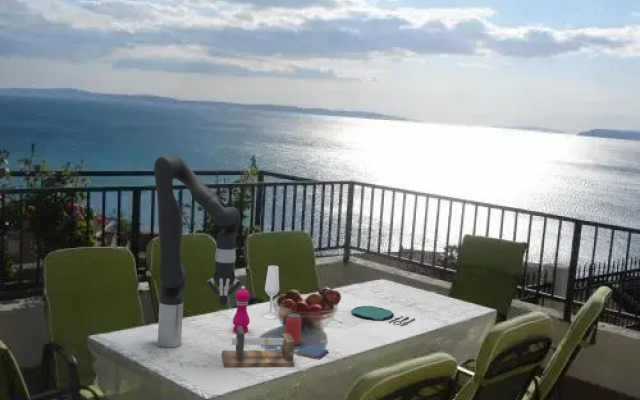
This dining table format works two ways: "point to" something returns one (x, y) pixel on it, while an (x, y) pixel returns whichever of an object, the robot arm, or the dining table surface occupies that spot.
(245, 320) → the pepper mill
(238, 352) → the dark grey block
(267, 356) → the base board
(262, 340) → the light grey beam
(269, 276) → the champagne flute
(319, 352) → the woven mat
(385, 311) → the cutlery set
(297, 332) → the beer can
